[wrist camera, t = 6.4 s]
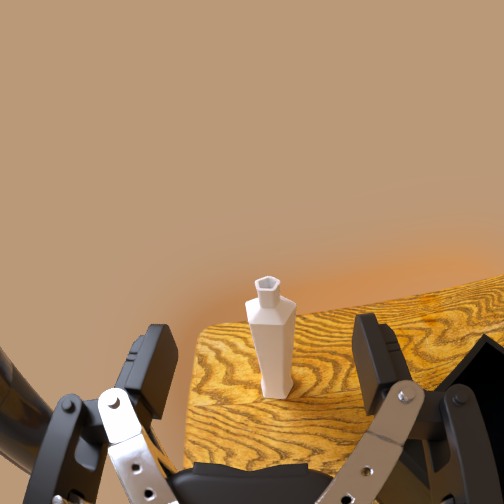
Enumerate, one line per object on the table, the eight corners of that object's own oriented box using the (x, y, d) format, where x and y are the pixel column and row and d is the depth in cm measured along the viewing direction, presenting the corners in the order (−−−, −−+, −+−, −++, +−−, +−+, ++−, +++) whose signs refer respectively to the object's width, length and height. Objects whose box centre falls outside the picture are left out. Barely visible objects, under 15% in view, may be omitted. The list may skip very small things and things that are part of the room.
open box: (444, 567, 8) (504, 556, 3) (354, 476, 21) (378, 438, 16) (530, 458, 14) (582, 410, 9) (451, 390, 26) (483, 333, 21)
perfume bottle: (301, 398, 30) (302, 295, 23) (262, 405, 30) (246, 304, 22) (292, 368, 34) (289, 264, 27) (256, 374, 34) (240, 272, 26)
